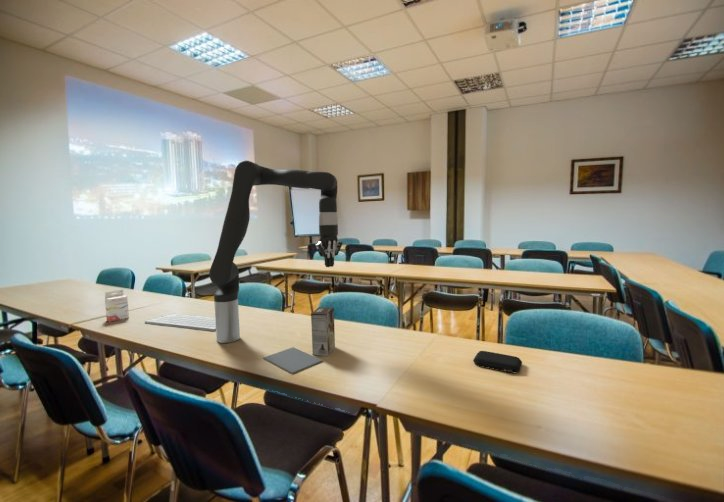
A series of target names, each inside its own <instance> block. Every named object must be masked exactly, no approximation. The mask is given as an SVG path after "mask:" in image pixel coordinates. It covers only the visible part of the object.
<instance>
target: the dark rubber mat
mask: <svg viewBox="0 0 724 502" xmlns="http://www.w3.org/2000/svg"><path fill="white" fill-rule="evenodd" d="M262 359H263V360H264V361H267V362H269V363H271V364H272V365H274V366H276V367H278V368H280V369H282V370H283V371H285V372H287V373H289V374H291V375H294V374H296V373H298V372H301V371H304V370H306V369H308V368H310V367H311V368H312V367H313V366H315V365H318V364H319V363H323V359H321V358H319V357H316V356H315V355H313V354H309V353H308V352H305V351H302V350H301V349H298V348H296V347H294V346H292V347H289V348H287V349H284V350H281V351H277V352H276V353H275V352H274V353H272V354H269V355H266V356H263V358H262Z"/></svg>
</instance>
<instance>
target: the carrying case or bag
mask: <svg viewBox="0 0 724 502" xmlns="http://www.w3.org/2000/svg"><path fill="white" fill-rule="evenodd" d="M473 363H474V365H476V364H477V365H479V366H478V367H480V366H484V367H483V368H485V367H489V368H488V369H490V368H494V369H493V370H495V369H498V370H497V371H500V370H503V371H502V372H504V373H510V372H517V373H518V372H520V371H521V368H522V364H523V362H522V360H521V359H520V358H519V357H518V356H514V355H508V354H503V353H499V352H492V351H487V350H480V351H478V352H477V353H476V355H475V356H474V358H473ZM477 365H476V366H477Z"/></svg>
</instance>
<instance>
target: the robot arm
mask: <svg viewBox="0 0 724 502" xmlns="http://www.w3.org/2000/svg"><path fill="white" fill-rule="evenodd" d="M232 181H233V182H232V186H231V187H232V189H231V193H230V198H229V202H228V205H227V209H226V214H225V215H224V216H225V217H224V220H223V224H222V229H221V231H220V232H221V233H220V236H219V240H218V246H217V249H216V252H215V255H214V258H213V260H212V263H211V265H210V268H209V272H208V273H209V279H210V281H211V282H212V284H214V285H216V286H217V288H216V291H215V292H214V294H213V301H214V303H213V304H214V316H215V317H214V318H215V321H216V331H215V332H216V333H215V334H216V342H217V343H220V344H227V343H228V344H229V343H233V342H237V341H238V340H240V338H241V333H240V331H241V330H240V328H241V327H240V314H239V296H238V295H239V291H240V273H239V267H238V266H237V264H236V263H235V262H234V260H235V256H236V254H237V251H238V250H239V248H240V247H241V245H242V242H243V241H244V238H245V236H246V235H247V234H246V233H247V232H248V228H249V223H250V219H251V214H250V212H251V211H250V198H251V192H252V190H253V187H254V186H269V185H271V186H272V185H273V186H282V187H288V188H295V189H305V190H306V189H307V190H308V189H314V190H319V191H320V198H319V202H318V212H319V213H318V232H319V233H318V235H319V241H318V243H315V244H314V248H315V249H316V251H317V252H318V254H319V257H323V258H324V265H325V267H326V268H332V267H334V266H335V257H336V256H338V255H339V254H340V253H339V252H340V251H341V248H342V246H343V241H342V242H341V241H339V239H338V235H339V223H338V222H339V220H338V218H339V217H338V206H337V205H338V202H337V195H338V179H337V177H336V176H335V175H334V174H332V173H331V172H328V171H309V170H305V169H304V170H302V169H294V168H293V169H278V168H277V169H276V168H269V167H265V166H262V165H259V164H258V163H255V162H253V161H250V160H245V159H244V160H242V161H240V162H239V163H238V164H236V166H235V169H234V174H233V180H232Z"/></svg>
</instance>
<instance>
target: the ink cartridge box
mask: <svg viewBox="0 0 724 502" xmlns="http://www.w3.org/2000/svg"><path fill="white" fill-rule="evenodd" d="M104 295H105V296H104V305H105V315H106V316H105V317H106V322H107V321H108V322H109V323H110V322H111V323H112V322H115V321H116V320H117V321H122V320H126V319H129V318H130V316H129V314H130V313H129V302H128V300H129V299H128V295H124V289H118V290H117V289H116V290H112V291H105V292H104ZM125 318H126V319H125ZM121 319H122V320H121Z"/></svg>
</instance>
